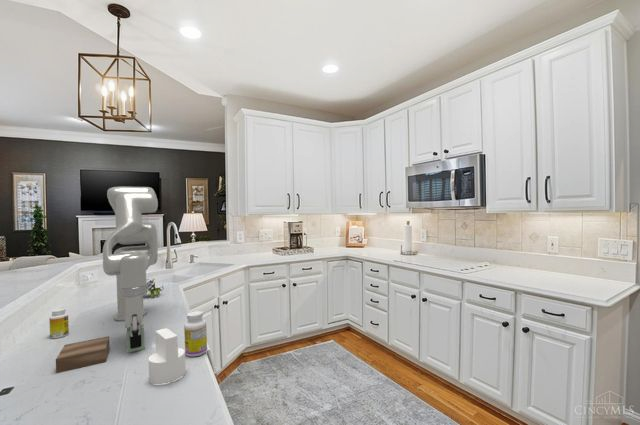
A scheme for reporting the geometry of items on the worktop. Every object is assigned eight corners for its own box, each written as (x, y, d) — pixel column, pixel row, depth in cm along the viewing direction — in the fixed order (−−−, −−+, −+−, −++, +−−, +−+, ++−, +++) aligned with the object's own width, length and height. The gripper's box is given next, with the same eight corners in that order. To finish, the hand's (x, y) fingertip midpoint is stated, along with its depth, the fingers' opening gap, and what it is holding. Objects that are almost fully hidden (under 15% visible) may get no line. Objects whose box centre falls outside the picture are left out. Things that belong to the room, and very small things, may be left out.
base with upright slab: (145, 377, 85) (143, 334, 85) (178, 365, 92) (177, 324, 92) (155, 389, 79) (153, 343, 79) (190, 375, 85) (188, 332, 85)
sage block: (128, 347, 106) (127, 327, 106) (144, 343, 108) (143, 323, 108) (127, 352, 101) (126, 331, 101) (144, 348, 104) (144, 328, 104)
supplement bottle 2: (185, 350, 101) (184, 311, 101) (207, 346, 104) (205, 308, 104) (184, 359, 95) (183, 318, 95) (207, 355, 97) (205, 314, 97)
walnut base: (65, 357, 100) (64, 344, 100) (109, 347, 106) (109, 336, 106) (56, 373, 89) (55, 359, 89) (106, 361, 95) (105, 348, 95)
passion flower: (143, 307, 172) (135, 288, 175) (163, 299, 180) (155, 281, 183) (146, 299, 165) (138, 280, 168) (167, 291, 173) (158, 273, 176)
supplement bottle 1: (67, 336, 117) (66, 310, 117) (48, 340, 115) (47, 313, 115) (70, 332, 122) (69, 306, 122) (52, 335, 120) (51, 309, 120)
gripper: (122, 288, 110) (124, 338, 110) (119, 298, 95) (121, 357, 95) (146, 284, 114) (148, 333, 114) (147, 294, 99) (149, 350, 99)
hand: (136, 343), depth 105 cm, fingers closed on sage block, 5 cm apart
